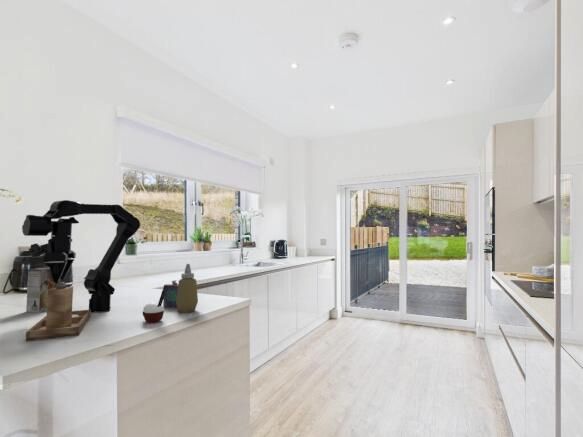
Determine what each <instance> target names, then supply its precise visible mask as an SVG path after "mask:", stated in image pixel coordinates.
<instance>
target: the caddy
mask: <svg viewBox="0 0 583 437" xmlns="http://www.w3.org/2000/svg"><path fill="white" fill-rule="evenodd" d="M91 316H92V313H91V310H89V309H82V310H81V309H80V310H72V322H71V327H63V328H53V329H46V320H47V314H46V315H44V317H43V318H41V319H40V320H39V321H37V323H35V324H34V325H33V326H31V327H30V328H29V329H28V330H27V331H26V332H25V342H31V341H41V340H49V339H59V338H60V339H61V338H66V337H76V336H80V334H81V332H83V330H84V327H85V326H86V325H87V323H88V322H89V321H90V318H91Z"/></svg>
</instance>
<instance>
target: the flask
mask: <svg viewBox="0 0 583 437" xmlns="http://www.w3.org/2000/svg"><path fill="white" fill-rule="evenodd" d="M178 284H179V282H177V280H172V281H171V283H169V284H168V283H167V284H163V287H164V286H168V287H167V290H166V293H165V296H164V299H163V302H162V306H164V308H170V307H172V308H173V307H175V308H174V309H178V307H177V304H176V299H177V291H178Z"/></svg>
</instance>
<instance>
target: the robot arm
mask: <svg viewBox="0 0 583 437" xmlns="http://www.w3.org/2000/svg"><path fill="white" fill-rule="evenodd" d="M78 215H110V216H111V217H112V219H113V221H114V222H115V223H116V224H117V225H116V230H115V231H116V234H115V236H114V238H113V240H112V241H111V243H110V246H109V247H108V249H107V250H106V252H105V254H104V256H103V257H102V259H101V261H100V263H99V265H98V266H97V267H95V269H92V268H91V269H89V270H88V272H87V274H86V276H85V277H84V278H83V279H84V282H83V285H84V288H85V290H87V291H88V294H89V295H90V298H89V299H88V310H91V314H92V313H101V312H110V311H111V308H112V306H111V299H112V298H111V296H112V295H114V293H115V291H116V289H115V288H114V287H113V285H111V284H110V281H111V278H112V277H111V276H112V274H111V272H112V269H113V268H114V266H115V265H116V262H117V261H118V258H119V257H120V255H121V253H122V251H123V249H124V248H125V246H126V244H127V242H128V240H129V239H130V238H132V236H135V234H136V233H137V232H138V230H139V229H140V227H141V221H140V220H139V219H138V218H137V217H136V216H134V215H133V214H132V213H130V212H129V211H128V210H126V209H125V208H124V207H123V206H122V205H120V204H96V203H95V204H93V203H92V204H91V203H81V202H78V201H73V200H70V199H69V200H68V199H65V200H63V199H62V200H56V201H53V202H52V203H51V205H50V206H49V210H47V211H46V213H45V214H43V215H34V214H26V216H25V219H24V222H23V224H22V226H21V230H22V234H23V235H24V236H26V237H28V236H29V237H30V236H31V237H45V236H48V235H49V234H50V238H48V240H47V243H44V244H41V245H40V244H39V243H38V242H37V243H32V244H30V248H28V251H27V252H28V254H30V256H31V258H37V257H41V262H42V263H43V264H44V265H45V266H47V268H48V267H50V270H51V274H52V278H53V282H54V283H57V282H58V281H59V279H62V280H65V278H66V276H67V274H68V272H69V270H70V269H71V267H72V266H73V265H72V264H73V263H74V261H75V259H76V256H77V255H76V251H74V250H72V249H71V248H72V242H73V238H72V231H73V230H72V229H73V224H79V223H80V221H79V220H77V219H76V218H75V217H74V216H78ZM66 217H69V218H66ZM57 219H58V220H57Z"/></svg>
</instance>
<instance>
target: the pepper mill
mask: <svg viewBox="0 0 583 437" xmlns="http://www.w3.org/2000/svg"><path fill="white" fill-rule="evenodd" d="M73 297H74V286H67V283H66V282H64V281H62V282H59V283H57V284H56V288H53V289H49V290H48V300H47V311H46V315H47V320H46V329H53V328H63V327H71V322H72V311H73Z"/></svg>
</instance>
